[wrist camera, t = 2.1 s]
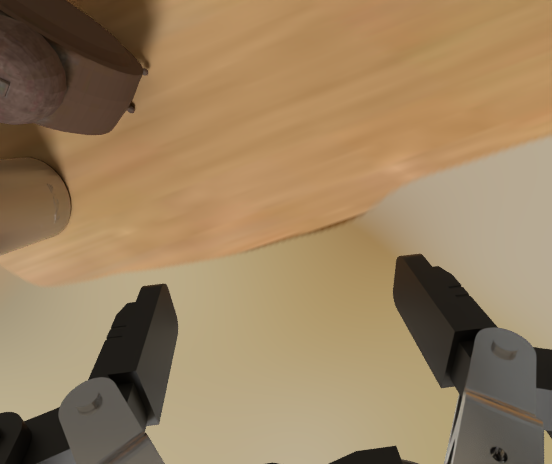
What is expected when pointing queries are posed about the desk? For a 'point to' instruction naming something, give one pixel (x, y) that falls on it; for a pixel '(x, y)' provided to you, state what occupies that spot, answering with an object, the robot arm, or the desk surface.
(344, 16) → the desk surface
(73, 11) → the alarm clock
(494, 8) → the desk surface
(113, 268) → the desk surface
